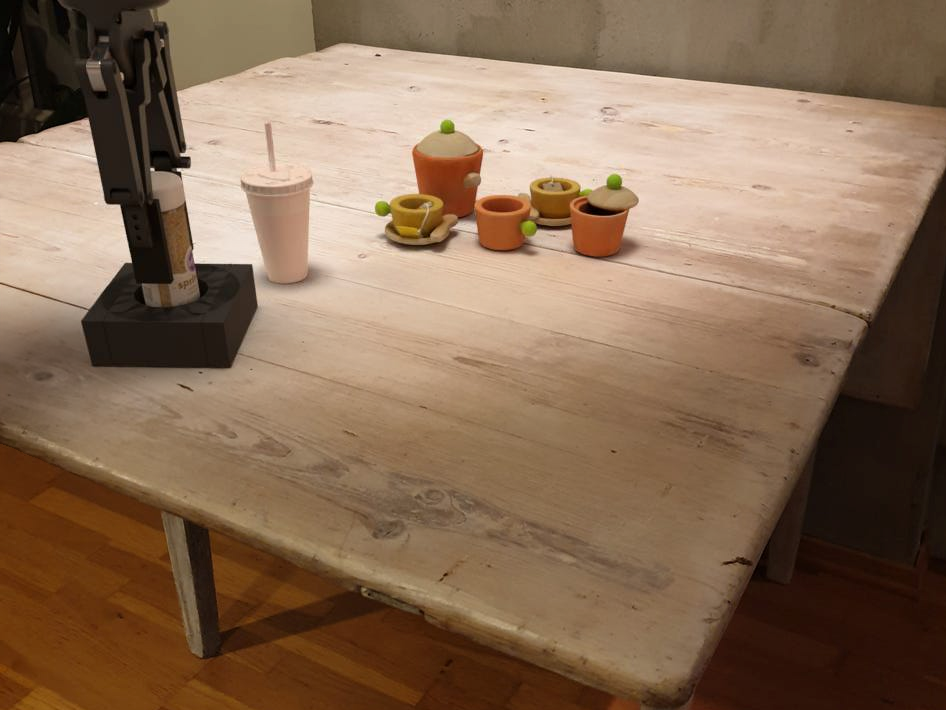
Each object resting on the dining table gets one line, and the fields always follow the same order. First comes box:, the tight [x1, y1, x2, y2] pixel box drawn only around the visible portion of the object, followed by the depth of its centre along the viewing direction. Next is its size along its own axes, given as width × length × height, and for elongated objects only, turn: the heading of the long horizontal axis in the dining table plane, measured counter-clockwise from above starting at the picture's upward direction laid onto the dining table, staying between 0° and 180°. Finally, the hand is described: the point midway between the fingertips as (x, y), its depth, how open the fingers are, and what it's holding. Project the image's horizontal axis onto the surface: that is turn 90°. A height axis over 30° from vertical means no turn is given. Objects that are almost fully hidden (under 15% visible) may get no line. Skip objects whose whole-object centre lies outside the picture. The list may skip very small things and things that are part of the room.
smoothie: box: [239, 121, 314, 285], centre depth 87 cm, size 6×6×14 cm
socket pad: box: [80, 262, 259, 369], centre depth 80 cm, size 11×11×4 cm
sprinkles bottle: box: [142, 170, 200, 307], centre depth 77 cm, size 5×5×14 cm
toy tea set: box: [374, 119, 640, 258], centre depth 98 cm, size 26×16×10 cm, turn 81°
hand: (166, 264), depth 77 cm, fingers open, 5 cm apart
